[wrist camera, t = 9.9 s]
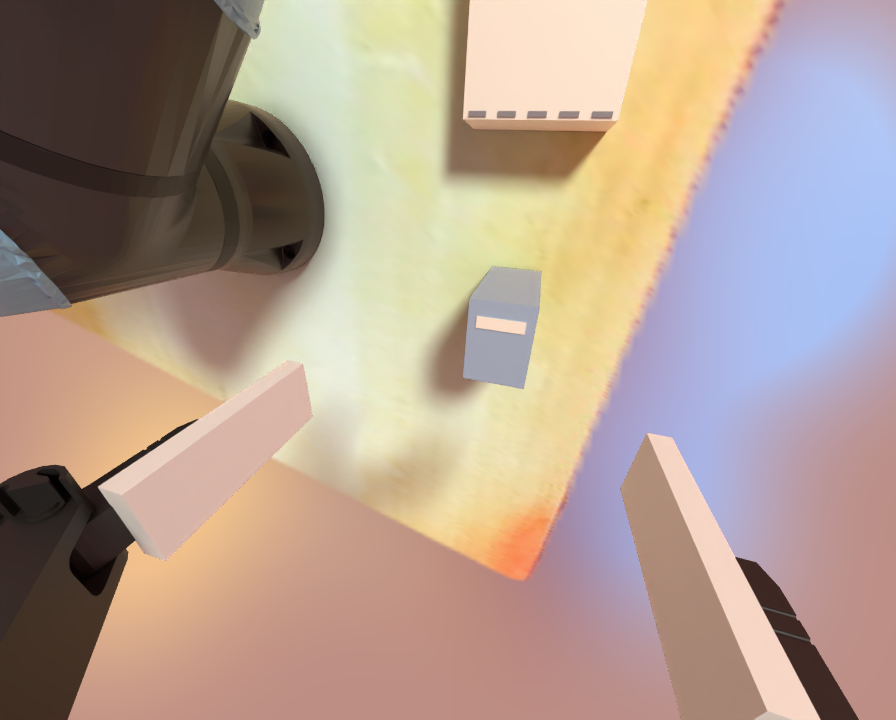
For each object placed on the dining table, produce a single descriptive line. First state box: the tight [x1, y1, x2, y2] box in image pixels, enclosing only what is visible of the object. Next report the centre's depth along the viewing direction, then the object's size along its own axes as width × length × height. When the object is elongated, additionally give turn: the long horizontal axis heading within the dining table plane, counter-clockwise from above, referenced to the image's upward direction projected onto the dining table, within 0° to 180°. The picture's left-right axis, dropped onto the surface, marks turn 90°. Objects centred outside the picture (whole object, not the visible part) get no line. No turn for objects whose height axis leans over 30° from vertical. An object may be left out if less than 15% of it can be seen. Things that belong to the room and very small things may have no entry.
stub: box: [463, 266, 541, 389], centre depth 26 cm, size 4×6×11 cm
